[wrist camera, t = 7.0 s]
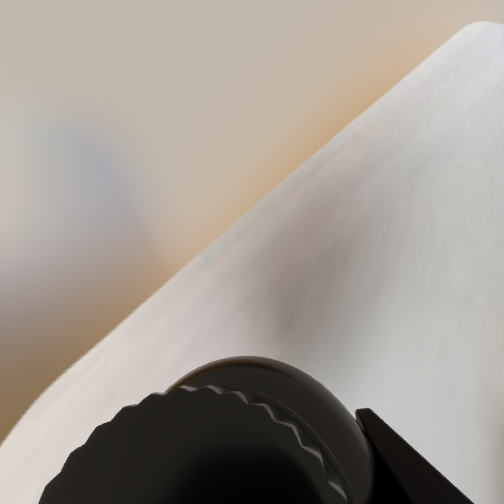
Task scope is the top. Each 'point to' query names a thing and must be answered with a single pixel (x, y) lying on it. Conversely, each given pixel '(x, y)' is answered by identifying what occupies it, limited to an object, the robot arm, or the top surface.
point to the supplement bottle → (227, 445)
